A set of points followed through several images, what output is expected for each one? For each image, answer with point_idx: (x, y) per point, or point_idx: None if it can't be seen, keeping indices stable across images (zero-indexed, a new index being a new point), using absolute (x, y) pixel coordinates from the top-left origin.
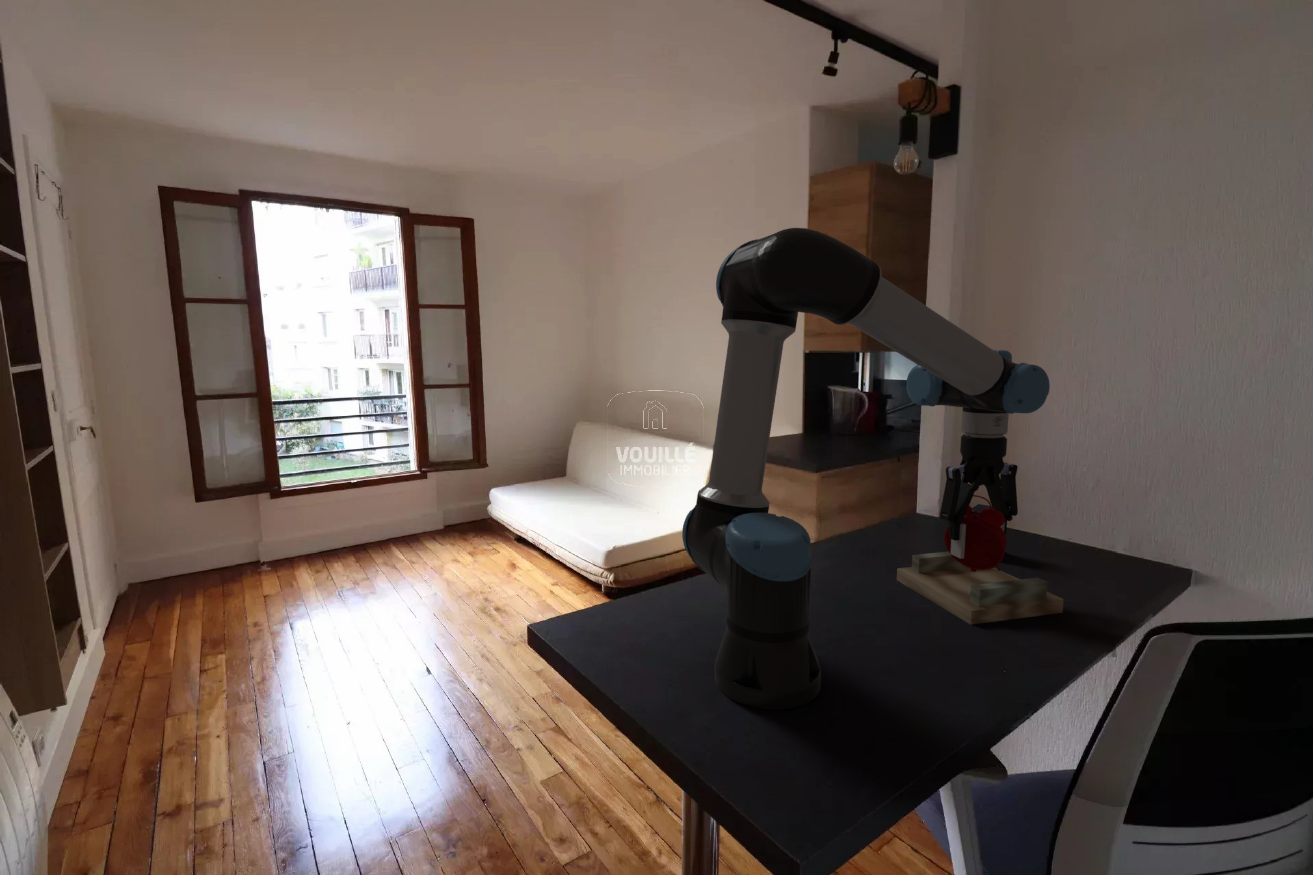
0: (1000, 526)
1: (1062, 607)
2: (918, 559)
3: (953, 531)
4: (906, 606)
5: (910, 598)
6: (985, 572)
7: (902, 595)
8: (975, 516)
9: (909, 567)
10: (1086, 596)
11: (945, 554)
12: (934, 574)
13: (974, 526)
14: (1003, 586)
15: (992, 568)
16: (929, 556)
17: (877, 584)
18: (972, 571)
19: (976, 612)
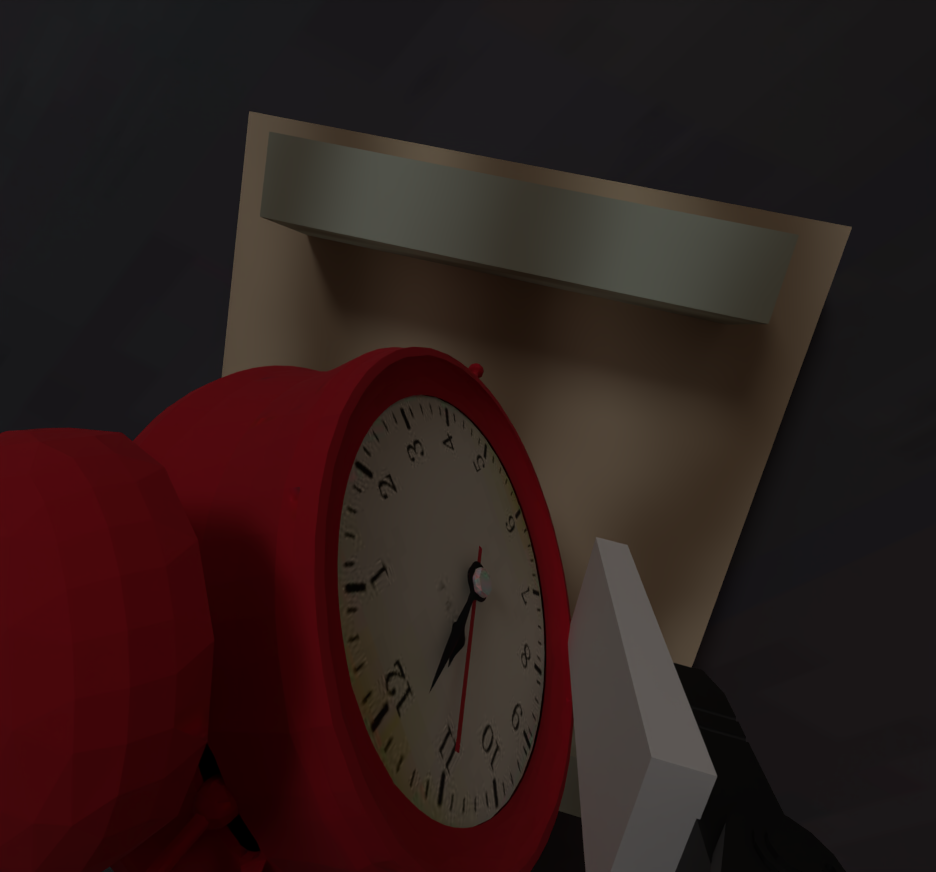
0: (583, 842)
1: None
2: (264, 210)
3: None
4: (126, 403)
5: (194, 351)
6: (660, 412)
7: (184, 308)
8: (177, 839)
9: (327, 132)
10: (928, 722)
11: (494, 234)
12: (371, 293)
13: (206, 754)
14: None
15: (768, 388)
16: (357, 212)
17: (163, 141)
18: (609, 363)
19: None
